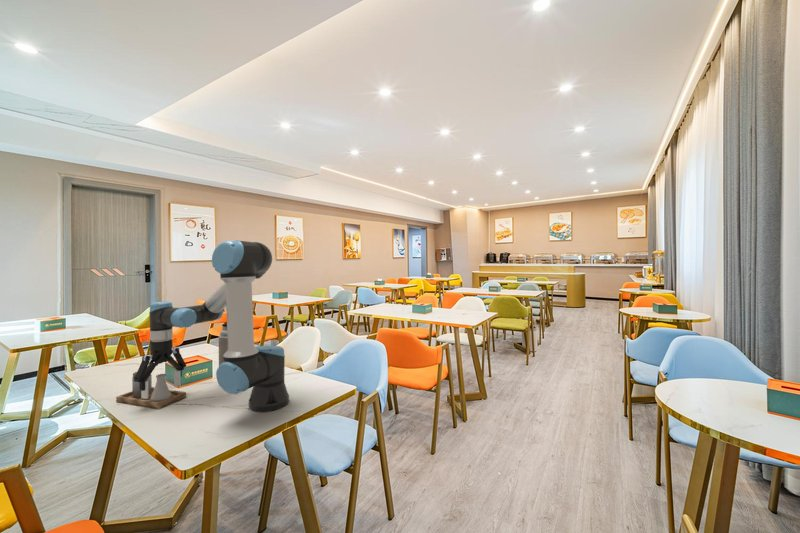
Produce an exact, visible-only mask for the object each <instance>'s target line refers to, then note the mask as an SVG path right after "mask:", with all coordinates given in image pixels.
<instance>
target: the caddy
mask: <svg viewBox="0 0 800 533" xmlns="http://www.w3.org/2000/svg"><path fill="white" fill-rule="evenodd" d="M154 388H155V386H152V393H153V391H154ZM169 391H170V393H171V395H172V397H171V398H169V399H166V400H164V401H161V402H153V401H150V398H151V396H152V394H151V395H148V398H147V399H145V398H140V399H135V398H132V390H131V391H129V392H126V393H124V394H120V395H117V396H116V397H115V402H116V403H120V404H125V405H131V406H137V407H141V408H143V407H144V408H148V409H154V410H160V409H163V408H165V407H167V406H169V405H172V404H175V403H177V402H179V401H182V400H184V399H186V398H187V391H181V390H174V389H169Z"/></svg>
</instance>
